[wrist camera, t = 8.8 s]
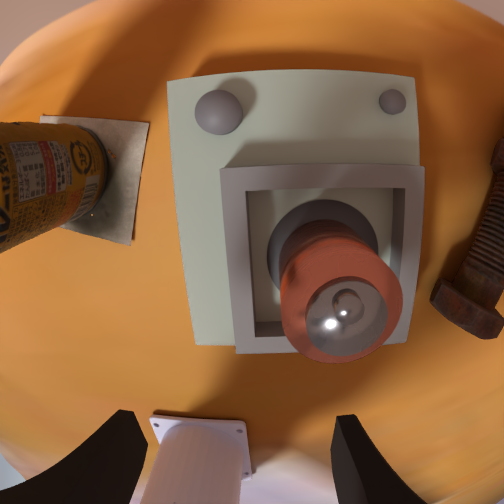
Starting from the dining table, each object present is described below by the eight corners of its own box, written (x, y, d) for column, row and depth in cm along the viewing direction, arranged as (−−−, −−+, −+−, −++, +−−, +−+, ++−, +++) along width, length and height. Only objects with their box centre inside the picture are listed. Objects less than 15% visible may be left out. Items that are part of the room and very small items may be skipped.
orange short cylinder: (370, 292, 15) (415, 366, 10) (288, 311, 16) (295, 396, 10) (359, 210, 14) (414, 251, 8) (268, 230, 15) (267, 286, 9)
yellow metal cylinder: (42, 115, 16) (-107, 120, 4) (150, 123, 16) (-17, 103, 5) (32, 219, 18) (-100, 281, 7) (132, 244, 18) (-3, 355, 7)
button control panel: (390, 314, 19) (412, 348, 15) (203, 322, 20) (190, 360, 16) (396, 85, 14) (427, 71, 11) (180, 90, 15) (156, 74, 11)
